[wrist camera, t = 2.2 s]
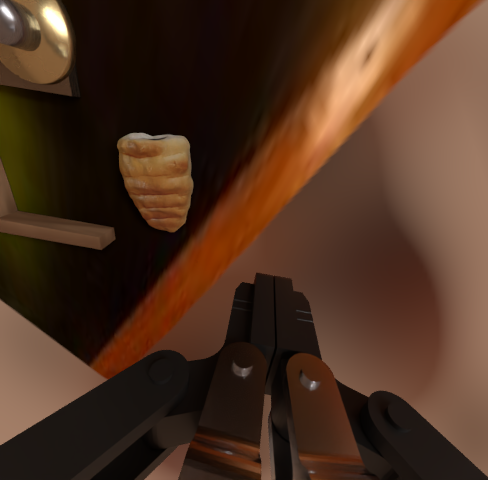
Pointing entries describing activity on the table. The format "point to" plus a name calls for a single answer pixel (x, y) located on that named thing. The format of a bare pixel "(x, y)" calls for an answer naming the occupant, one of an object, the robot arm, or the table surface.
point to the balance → (38, 46)
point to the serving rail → (48, 223)
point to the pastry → (157, 177)
